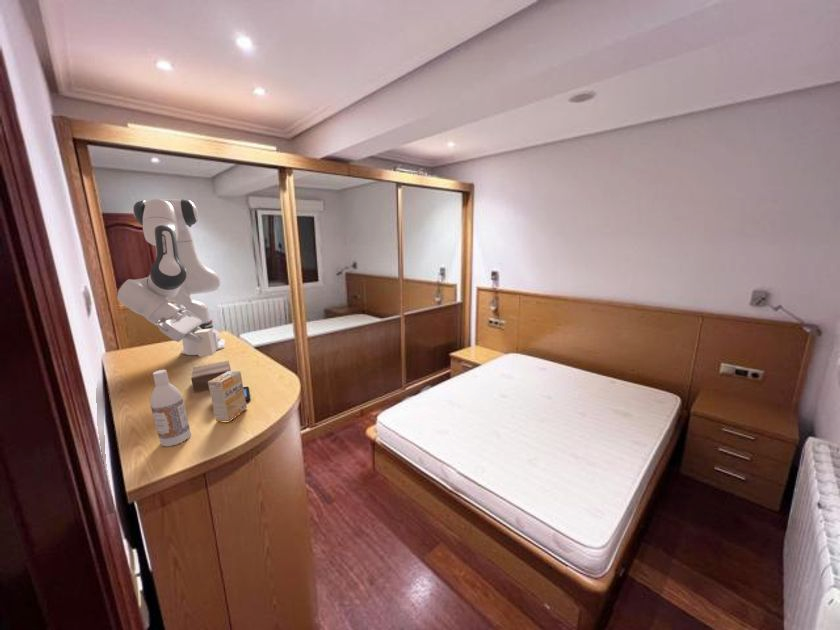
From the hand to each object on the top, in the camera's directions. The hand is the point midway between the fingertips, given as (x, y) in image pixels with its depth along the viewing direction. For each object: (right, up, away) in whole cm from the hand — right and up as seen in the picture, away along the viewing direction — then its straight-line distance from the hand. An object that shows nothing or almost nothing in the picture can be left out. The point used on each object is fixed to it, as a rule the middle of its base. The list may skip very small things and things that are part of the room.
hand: (203, 338), depth 127 cm
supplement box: (+22, -22, -21) cm, 37 cm away
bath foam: (+13, -26, -32) cm, 43 cm away
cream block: (+1, -6, +1) cm, 6 cm away
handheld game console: (+16, -20, -9) cm, 27 cm away
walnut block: (+1, -17, +4) cm, 18 cm away
